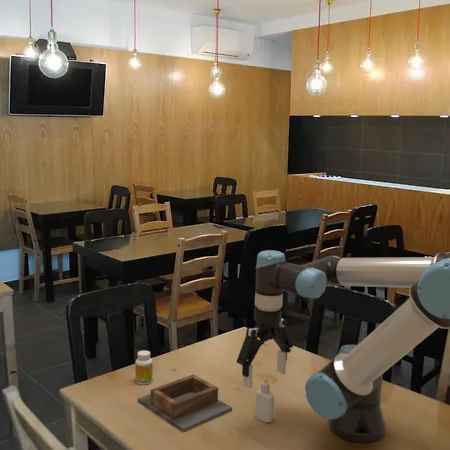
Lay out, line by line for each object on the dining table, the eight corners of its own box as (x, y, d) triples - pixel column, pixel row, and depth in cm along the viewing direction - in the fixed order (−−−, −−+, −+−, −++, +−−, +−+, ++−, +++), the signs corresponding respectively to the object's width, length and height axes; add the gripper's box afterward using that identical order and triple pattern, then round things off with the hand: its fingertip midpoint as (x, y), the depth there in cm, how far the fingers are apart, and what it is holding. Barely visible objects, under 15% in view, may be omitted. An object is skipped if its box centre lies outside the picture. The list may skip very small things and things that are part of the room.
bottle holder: (232, 410, 162) (232, 393, 161) (183, 432, 150) (183, 413, 149) (185, 384, 178) (185, 367, 177) (137, 401, 166) (137, 384, 165)
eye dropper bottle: (268, 412, 161) (270, 374, 159) (274, 422, 155) (276, 382, 153) (254, 414, 160) (255, 375, 158) (259, 424, 154) (261, 384, 152)
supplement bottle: (147, 386, 175) (147, 357, 174) (132, 383, 177) (132, 354, 175) (155, 379, 180) (155, 350, 179) (140, 376, 182) (140, 348, 180)
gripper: (288, 295, 163) (284, 363, 167) (225, 312, 146) (222, 387, 150) (308, 301, 158) (303, 371, 161) (245, 320, 141) (241, 398, 145)
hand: (264, 379), depth 156 cm, fingers open, 13 cm apart
